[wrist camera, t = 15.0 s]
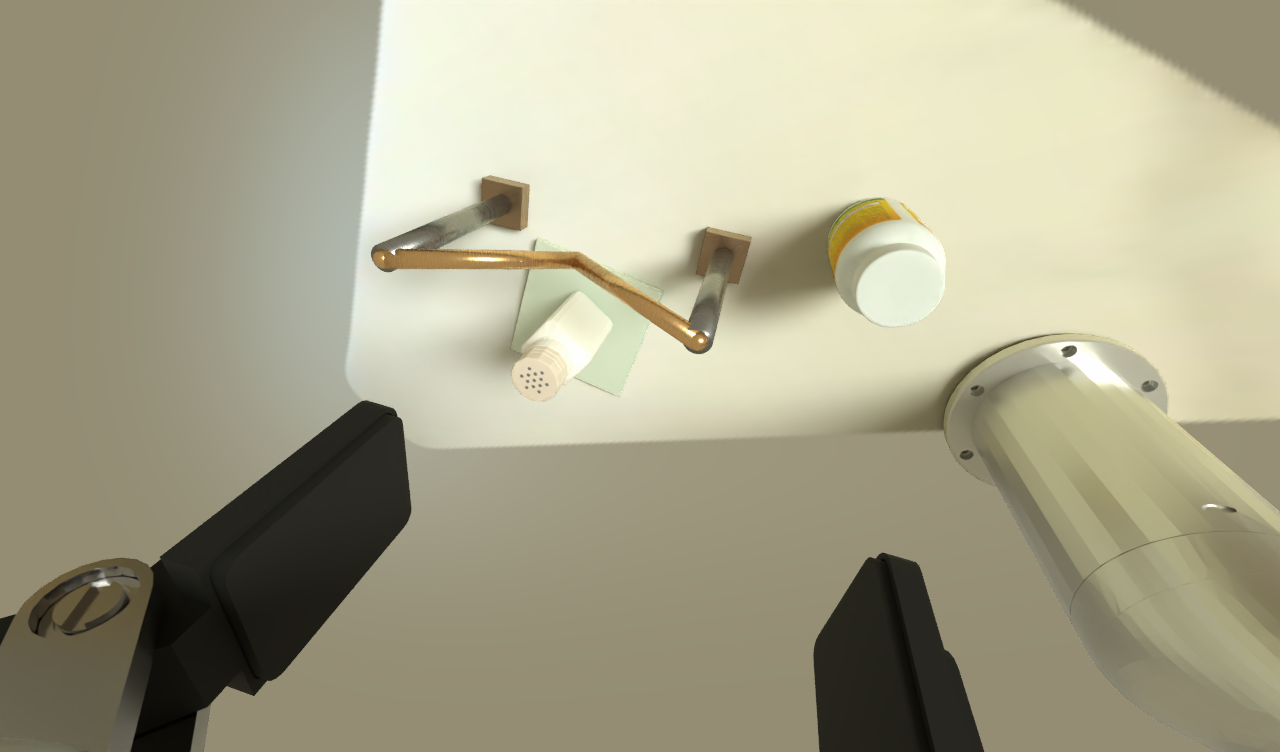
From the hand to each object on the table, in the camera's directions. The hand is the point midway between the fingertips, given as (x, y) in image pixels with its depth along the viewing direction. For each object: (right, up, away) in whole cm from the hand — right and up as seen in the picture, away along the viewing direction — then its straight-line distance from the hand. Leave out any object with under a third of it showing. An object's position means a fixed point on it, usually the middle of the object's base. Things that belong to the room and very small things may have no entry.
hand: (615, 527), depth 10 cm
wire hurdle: (-1, +14, +26) cm, 29 cm away
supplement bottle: (+15, +12, +23) cm, 30 cm away
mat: (-4, +7, +30) cm, 32 cm away
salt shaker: (-4, +7, +30) cm, 31 cm away
